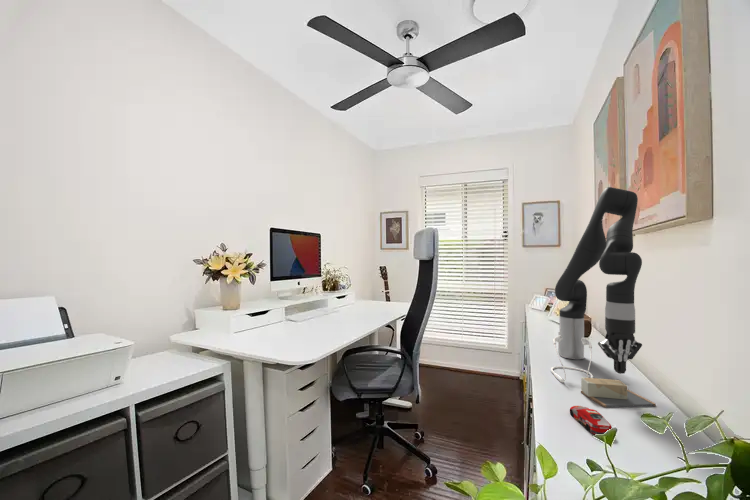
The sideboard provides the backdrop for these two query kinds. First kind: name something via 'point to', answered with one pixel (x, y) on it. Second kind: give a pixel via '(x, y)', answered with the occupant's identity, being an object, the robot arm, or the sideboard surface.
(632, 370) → the sideboard surface
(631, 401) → the mat
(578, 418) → the race car
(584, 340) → the earphone
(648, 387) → the sideboard surface
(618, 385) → the box
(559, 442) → the sideboard surface
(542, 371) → the sideboard surface
